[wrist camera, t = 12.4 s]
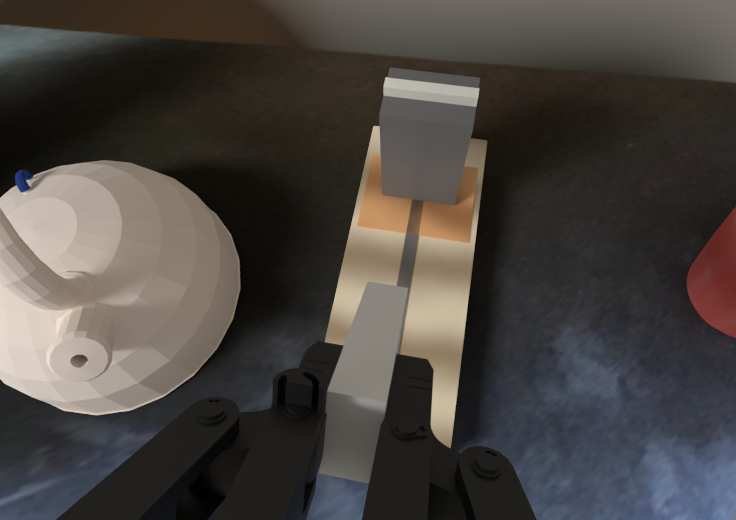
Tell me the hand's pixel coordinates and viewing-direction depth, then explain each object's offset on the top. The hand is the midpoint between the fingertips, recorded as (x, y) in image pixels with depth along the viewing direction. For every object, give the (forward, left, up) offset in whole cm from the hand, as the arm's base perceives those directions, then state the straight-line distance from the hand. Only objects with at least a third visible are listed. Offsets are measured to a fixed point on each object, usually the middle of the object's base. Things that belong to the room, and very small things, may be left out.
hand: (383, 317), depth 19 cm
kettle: (-20, -13, -22) cm, 32 cm away
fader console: (-7, +7, -21) cm, 23 cm away
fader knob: (-12, +12, -18) cm, 25 cm away
